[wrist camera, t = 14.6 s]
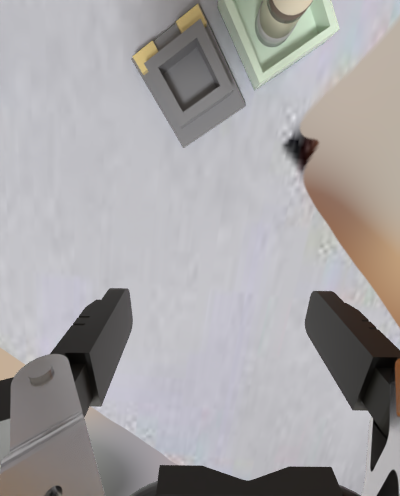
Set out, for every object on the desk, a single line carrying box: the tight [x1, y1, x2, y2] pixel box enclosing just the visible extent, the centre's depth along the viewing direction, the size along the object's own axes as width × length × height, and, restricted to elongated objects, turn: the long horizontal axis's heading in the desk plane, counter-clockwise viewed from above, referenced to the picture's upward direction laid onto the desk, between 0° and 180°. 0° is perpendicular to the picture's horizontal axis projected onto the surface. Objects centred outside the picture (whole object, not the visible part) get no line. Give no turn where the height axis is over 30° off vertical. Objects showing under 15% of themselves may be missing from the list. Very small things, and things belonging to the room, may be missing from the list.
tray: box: [218, 0, 339, 90], centre depth 27 cm, size 10×10×3 cm
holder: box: [132, 4, 246, 148], centre depth 29 cm, size 12×10×4 cm
